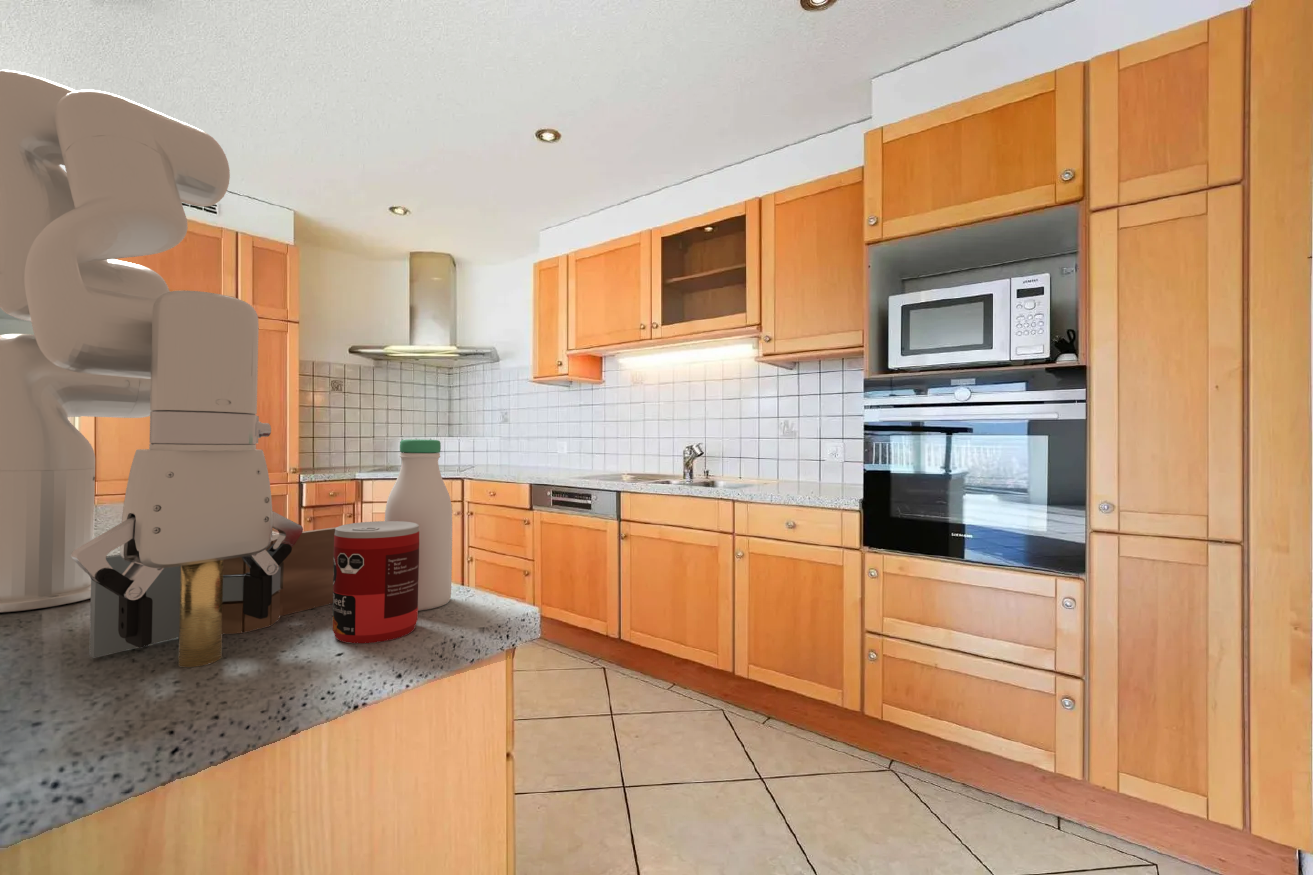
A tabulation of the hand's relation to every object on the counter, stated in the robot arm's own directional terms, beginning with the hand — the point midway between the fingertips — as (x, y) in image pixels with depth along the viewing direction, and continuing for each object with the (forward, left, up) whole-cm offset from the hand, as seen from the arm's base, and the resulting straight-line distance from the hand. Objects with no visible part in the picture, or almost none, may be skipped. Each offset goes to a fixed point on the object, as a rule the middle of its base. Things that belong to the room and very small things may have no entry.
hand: (201, 628), depth 52 cm
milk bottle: (+1, +22, -3) cm, 22 cm away
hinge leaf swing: (-8, +3, -3) cm, 9 cm away
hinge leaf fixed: (-8, +12, -3) cm, 14 cm away
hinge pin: (0, 0, -3) cm, 3 cm away
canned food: (+6, +13, -3) cm, 15 cm away
